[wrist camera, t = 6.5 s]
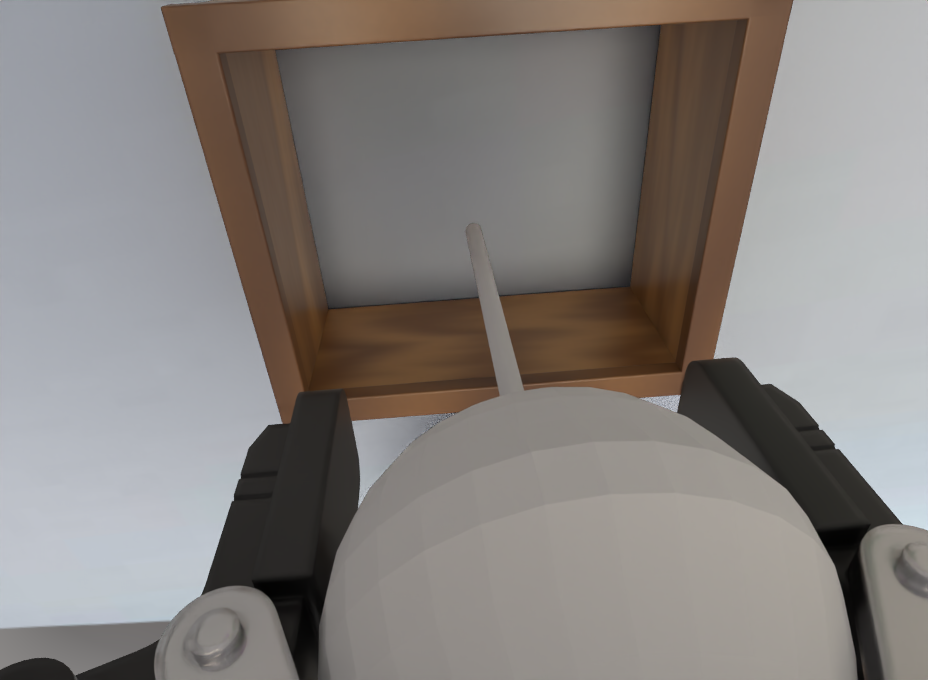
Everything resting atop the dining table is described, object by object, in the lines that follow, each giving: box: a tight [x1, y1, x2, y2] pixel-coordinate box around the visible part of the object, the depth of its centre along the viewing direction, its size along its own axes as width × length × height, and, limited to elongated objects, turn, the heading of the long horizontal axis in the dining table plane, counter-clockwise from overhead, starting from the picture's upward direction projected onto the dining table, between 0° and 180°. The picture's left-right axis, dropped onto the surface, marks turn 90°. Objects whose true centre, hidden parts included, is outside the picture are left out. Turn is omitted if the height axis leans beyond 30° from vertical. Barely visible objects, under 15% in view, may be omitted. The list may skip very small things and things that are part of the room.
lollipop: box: [318, 223, 858, 680], centre depth 11 cm, size 6×6×15 cm
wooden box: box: [161, 0, 793, 424], centre depth 19 cm, size 14×12×6 cm
